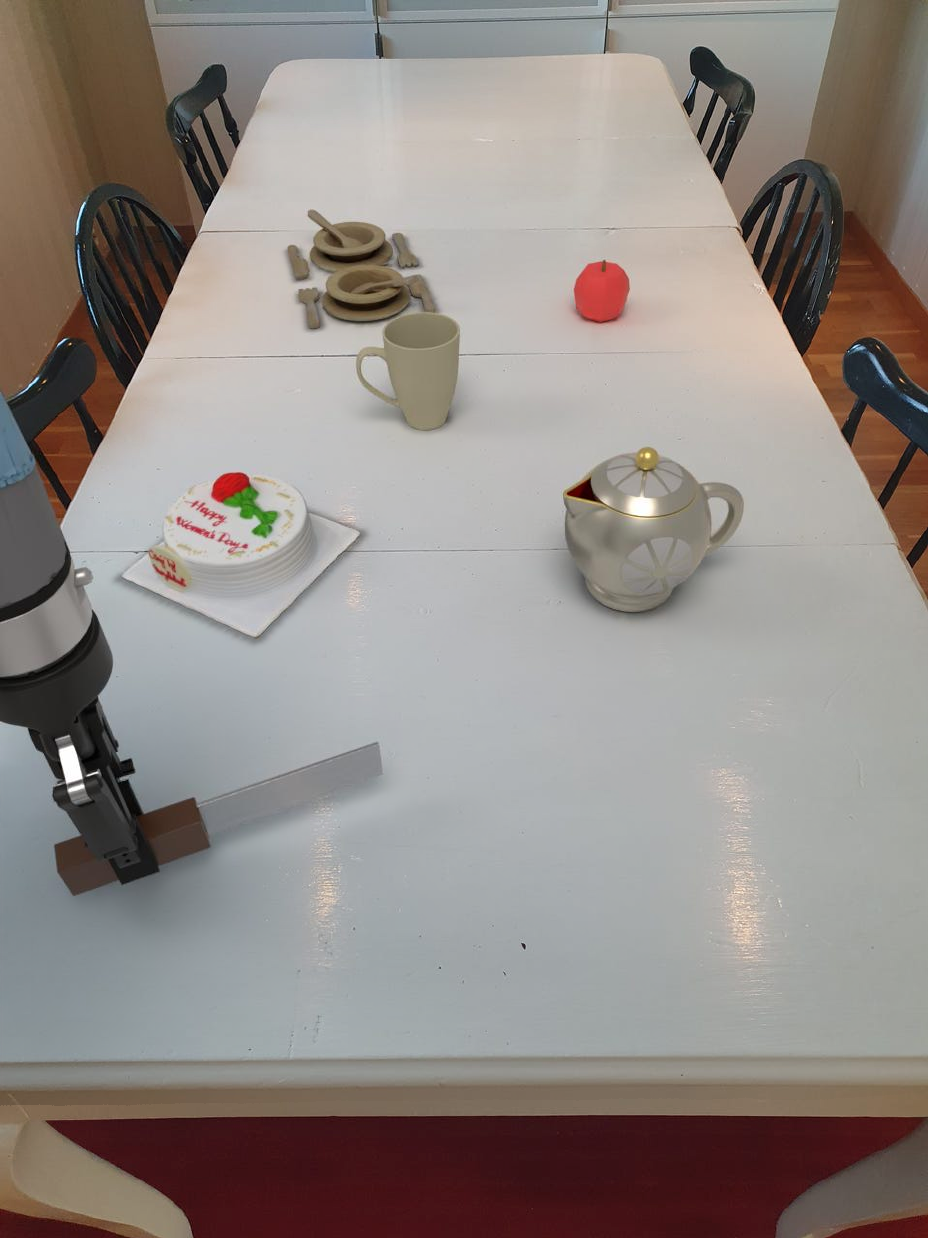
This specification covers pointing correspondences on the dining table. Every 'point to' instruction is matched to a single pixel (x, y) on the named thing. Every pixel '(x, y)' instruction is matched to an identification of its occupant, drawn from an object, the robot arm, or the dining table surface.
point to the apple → (601, 291)
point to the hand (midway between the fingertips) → (136, 856)
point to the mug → (419, 366)
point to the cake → (240, 550)
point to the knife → (219, 815)
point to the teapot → (643, 527)
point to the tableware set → (357, 272)
